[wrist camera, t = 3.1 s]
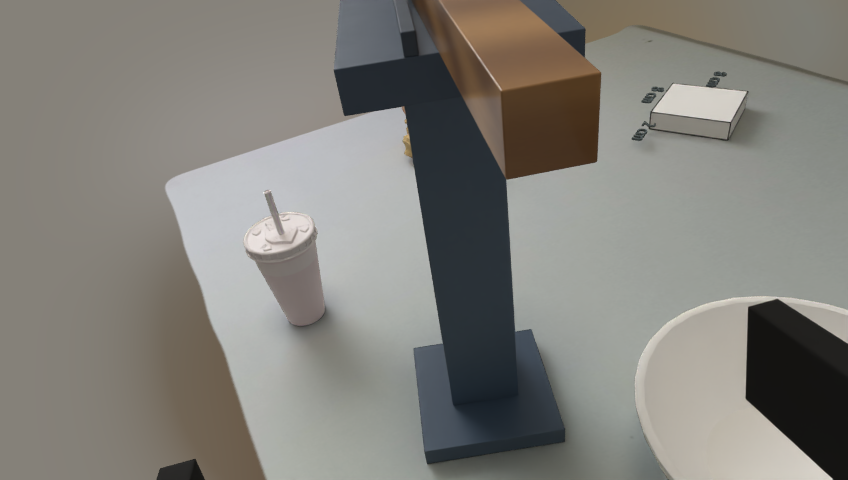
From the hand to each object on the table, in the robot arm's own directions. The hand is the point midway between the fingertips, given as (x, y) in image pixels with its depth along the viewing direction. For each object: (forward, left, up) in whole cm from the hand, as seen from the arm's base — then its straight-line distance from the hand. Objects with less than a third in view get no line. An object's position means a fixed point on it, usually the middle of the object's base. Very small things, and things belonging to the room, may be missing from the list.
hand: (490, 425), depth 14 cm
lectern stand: (+21, +4, -26) cm, 34 cm away
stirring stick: (+17, +3, +4) cm, 18 cm away
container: (+68, -19, -26) cm, 76 cm away
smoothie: (+30, +22, -26) cm, 46 cm away
